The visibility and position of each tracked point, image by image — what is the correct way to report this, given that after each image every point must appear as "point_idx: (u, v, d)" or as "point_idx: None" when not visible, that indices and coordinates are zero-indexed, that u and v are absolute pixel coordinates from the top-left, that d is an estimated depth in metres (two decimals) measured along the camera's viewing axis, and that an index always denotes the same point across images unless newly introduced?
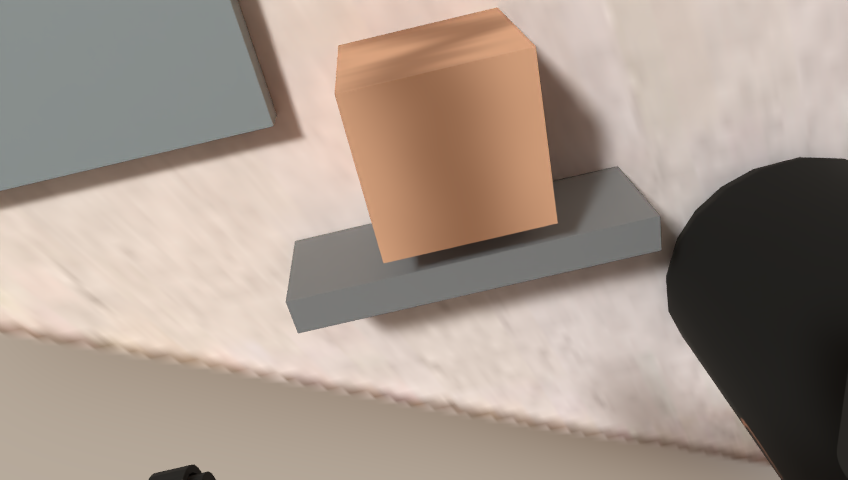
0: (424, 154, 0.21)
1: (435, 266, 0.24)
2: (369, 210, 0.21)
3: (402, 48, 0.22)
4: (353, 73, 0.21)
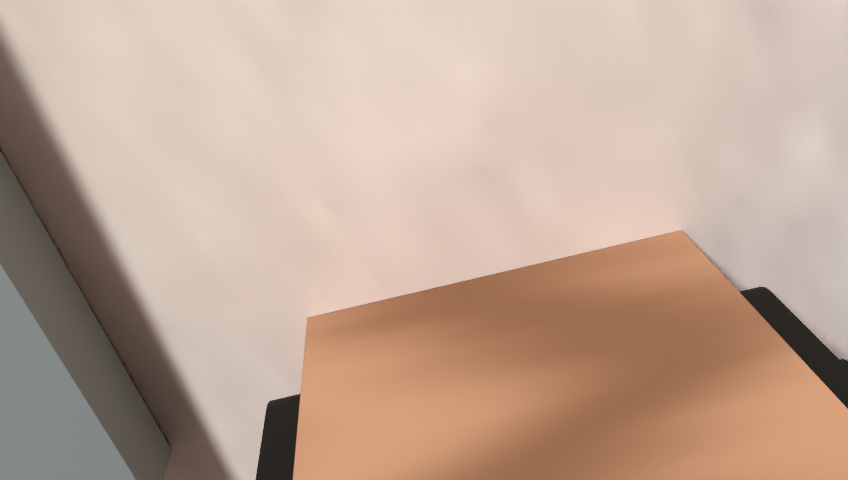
0: None
1: None
2: None
3: (475, 403, 0.08)
4: None
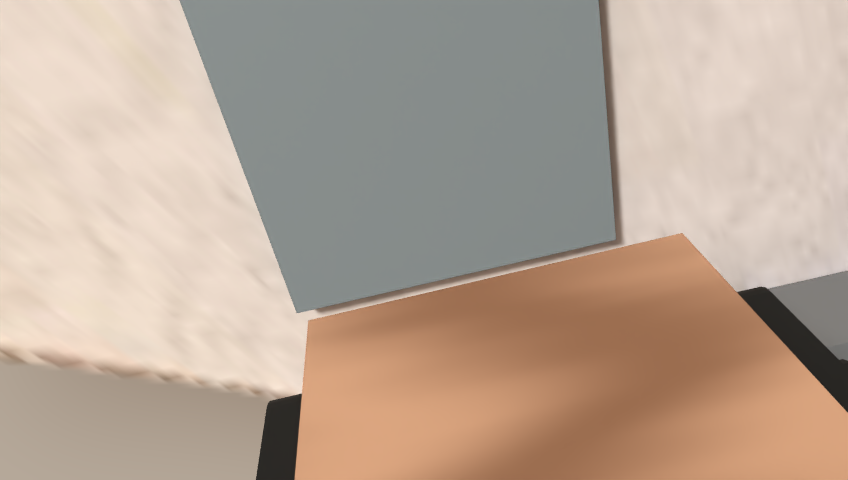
0: None
1: None
2: None
3: (476, 407, 0.08)
4: None
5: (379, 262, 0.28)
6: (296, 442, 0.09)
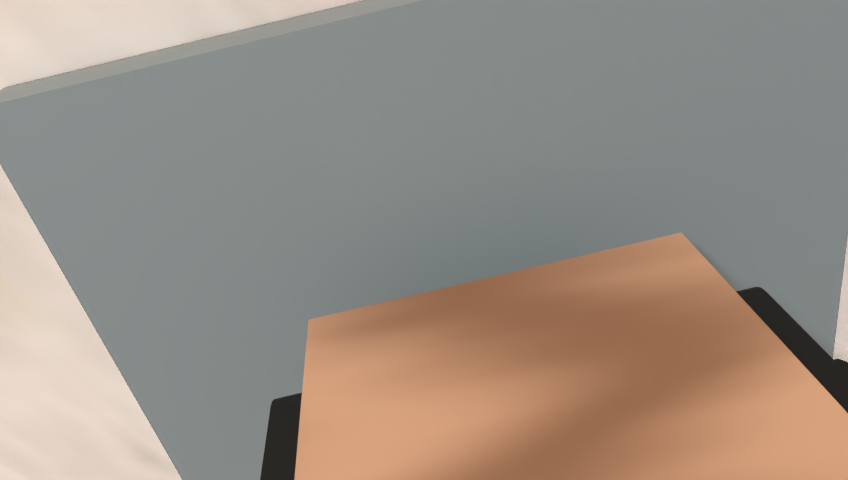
0: None
1: None
2: None
3: (476, 405, 0.08)
4: None
5: None
6: None
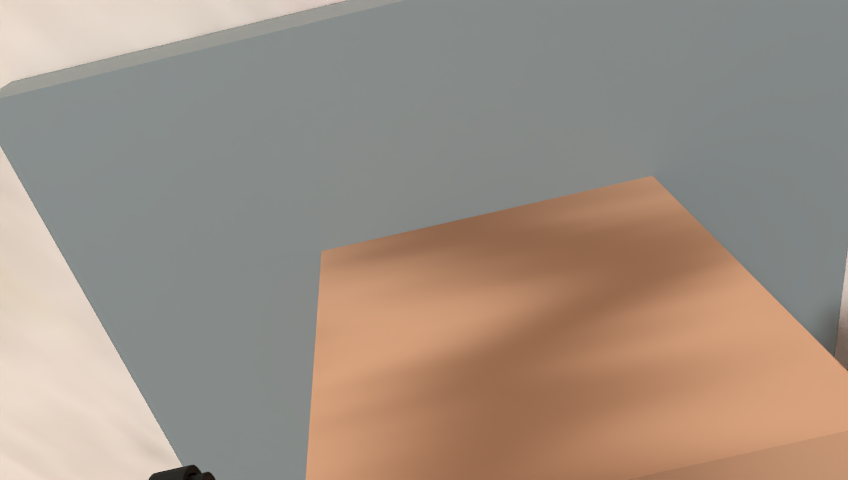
0: None
1: None
2: None
3: (469, 309, 0.09)
4: (355, 412, 0.08)
5: None
6: None
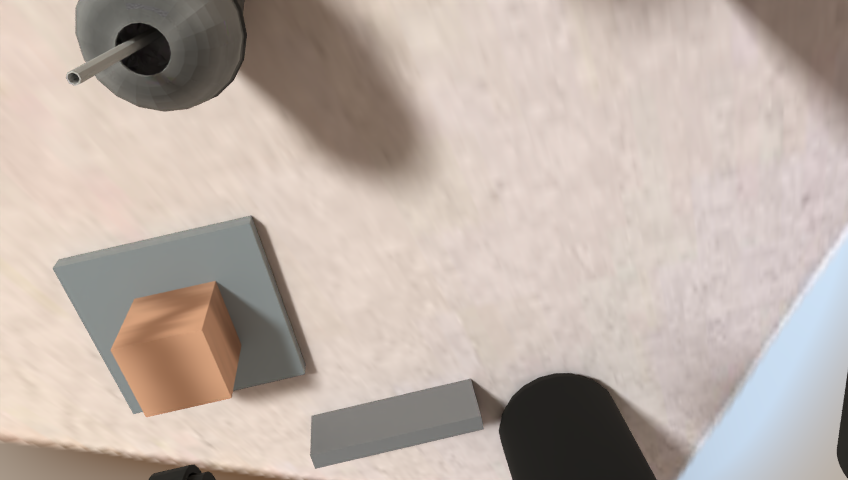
0: (158, 371, 0.44)
1: (379, 438, 0.53)
2: (134, 395, 0.45)
3: (156, 312, 0.46)
4: (126, 331, 0.45)
5: None
6: None
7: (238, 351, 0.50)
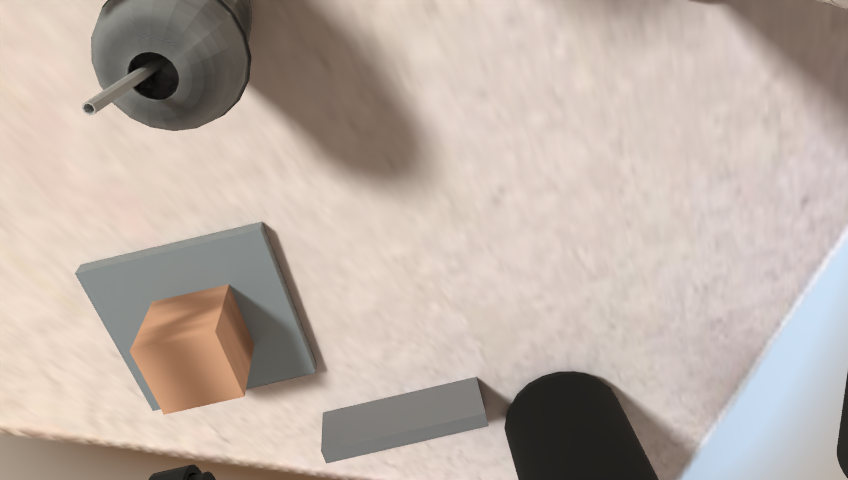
0: (174, 371, 0.47)
1: (387, 435, 0.55)
2: (153, 393, 0.47)
3: (172, 315, 0.48)
4: (144, 333, 0.47)
5: None
6: None
7: (251, 351, 0.52)
